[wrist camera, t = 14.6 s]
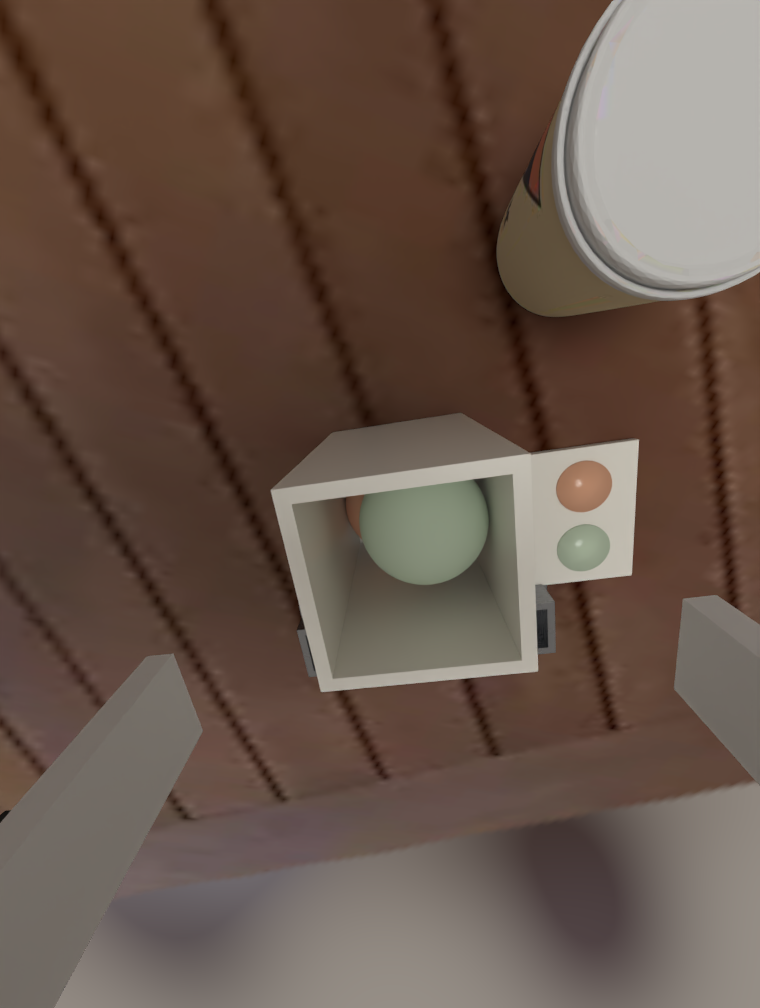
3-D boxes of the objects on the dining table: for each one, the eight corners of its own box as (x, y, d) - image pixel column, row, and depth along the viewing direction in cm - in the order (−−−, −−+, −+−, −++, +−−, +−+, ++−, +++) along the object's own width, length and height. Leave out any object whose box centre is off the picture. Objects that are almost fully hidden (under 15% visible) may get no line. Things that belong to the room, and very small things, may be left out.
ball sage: (324, 476, 19) (401, 449, 14) (415, 463, 23) (501, 437, 18) (350, 596, 19) (435, 610, 14) (436, 564, 23) (527, 566, 18)
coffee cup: (583, 100, 21) (816, -240, 9) (678, 246, 22) (969, 114, 11) (448, 244, 23) (501, 114, 11) (545, 365, 25) (673, 358, 13)
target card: (526, 453, 27) (530, 455, 26) (633, 438, 26) (640, 440, 25) (531, 582, 30) (534, 587, 29) (627, 571, 29) (633, 576, 28)
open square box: (332, 432, 27) (270, 489, 13) (460, 412, 26) (530, 453, 13) (354, 547, 29) (321, 692, 16) (471, 532, 28) (538, 671, 15)
